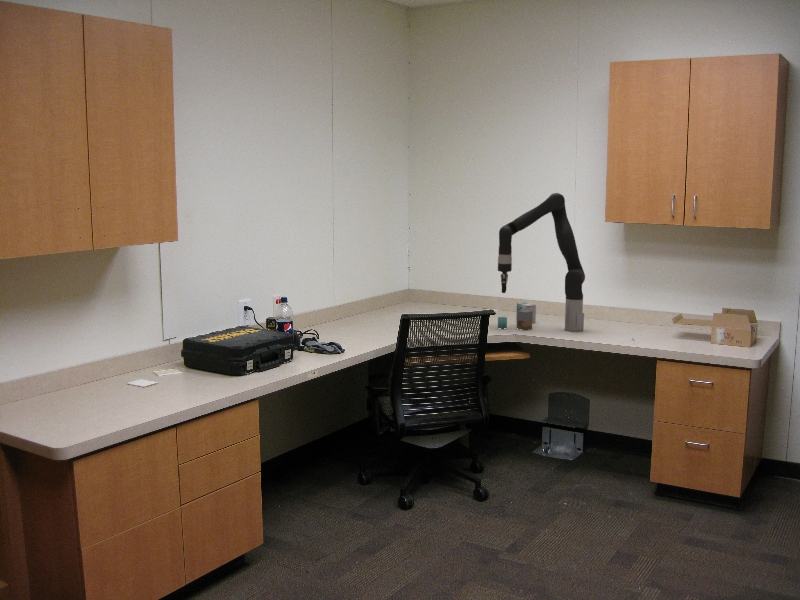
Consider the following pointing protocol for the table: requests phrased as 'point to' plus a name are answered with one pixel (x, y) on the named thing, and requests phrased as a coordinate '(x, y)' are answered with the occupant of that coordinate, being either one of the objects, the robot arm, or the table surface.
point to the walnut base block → (524, 325)
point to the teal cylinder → (502, 322)
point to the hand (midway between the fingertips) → (504, 291)
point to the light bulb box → (527, 307)
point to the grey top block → (524, 315)
